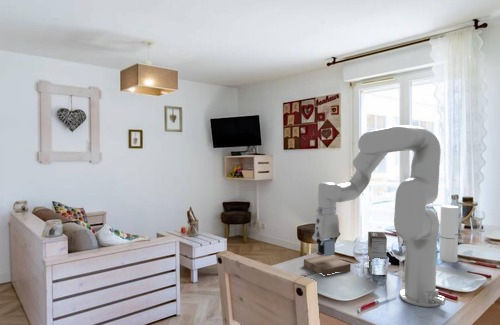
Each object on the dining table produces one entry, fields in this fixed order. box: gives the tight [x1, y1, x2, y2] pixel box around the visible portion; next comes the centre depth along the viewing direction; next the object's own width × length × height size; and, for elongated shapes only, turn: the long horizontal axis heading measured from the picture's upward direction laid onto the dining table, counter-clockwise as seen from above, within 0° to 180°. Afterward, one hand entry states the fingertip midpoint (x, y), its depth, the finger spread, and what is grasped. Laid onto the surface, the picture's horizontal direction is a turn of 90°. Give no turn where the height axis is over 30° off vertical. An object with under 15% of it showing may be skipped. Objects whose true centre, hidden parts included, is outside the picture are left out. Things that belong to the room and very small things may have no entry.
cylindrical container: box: [439, 204, 460, 263], centre depth 156 cm, size 7×7×25 cm
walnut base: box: [303, 255, 351, 275], centre depth 146 cm, size 14×14×3 cm
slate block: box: [317, 238, 336, 256], centre depth 146 cm, size 5×5×6 cm
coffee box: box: [367, 231, 388, 276], centre depth 142 cm, size 9×6×16 cm
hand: (326, 252), depth 146 cm, fingers closed on slate block, 5 cm apart
